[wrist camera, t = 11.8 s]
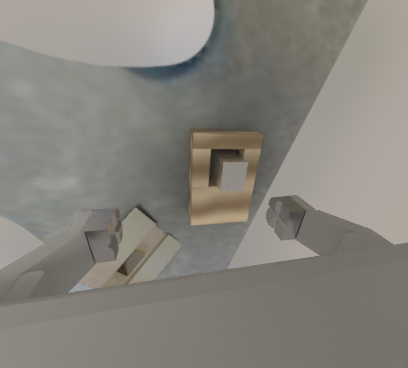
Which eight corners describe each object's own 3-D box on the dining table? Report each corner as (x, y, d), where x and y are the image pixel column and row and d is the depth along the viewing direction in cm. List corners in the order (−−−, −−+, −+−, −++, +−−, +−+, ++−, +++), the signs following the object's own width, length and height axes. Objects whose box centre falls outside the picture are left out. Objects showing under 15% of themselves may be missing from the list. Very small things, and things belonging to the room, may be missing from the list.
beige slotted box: (114, 200, 39) (56, 267, 32) (135, 205, 33) (70, 288, 26) (160, 236, 49) (124, 294, 42) (182, 245, 43) (145, 313, 36)
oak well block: (190, 129, 32) (193, 133, 28) (253, 130, 34) (263, 134, 30) (188, 214, 39) (190, 225, 36) (240, 210, 42) (247, 221, 38)
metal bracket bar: (211, 148, 34) (223, 162, 27) (231, 148, 35) (248, 161, 28) (209, 173, 36) (220, 191, 29) (228, 172, 37) (243, 190, 30)
